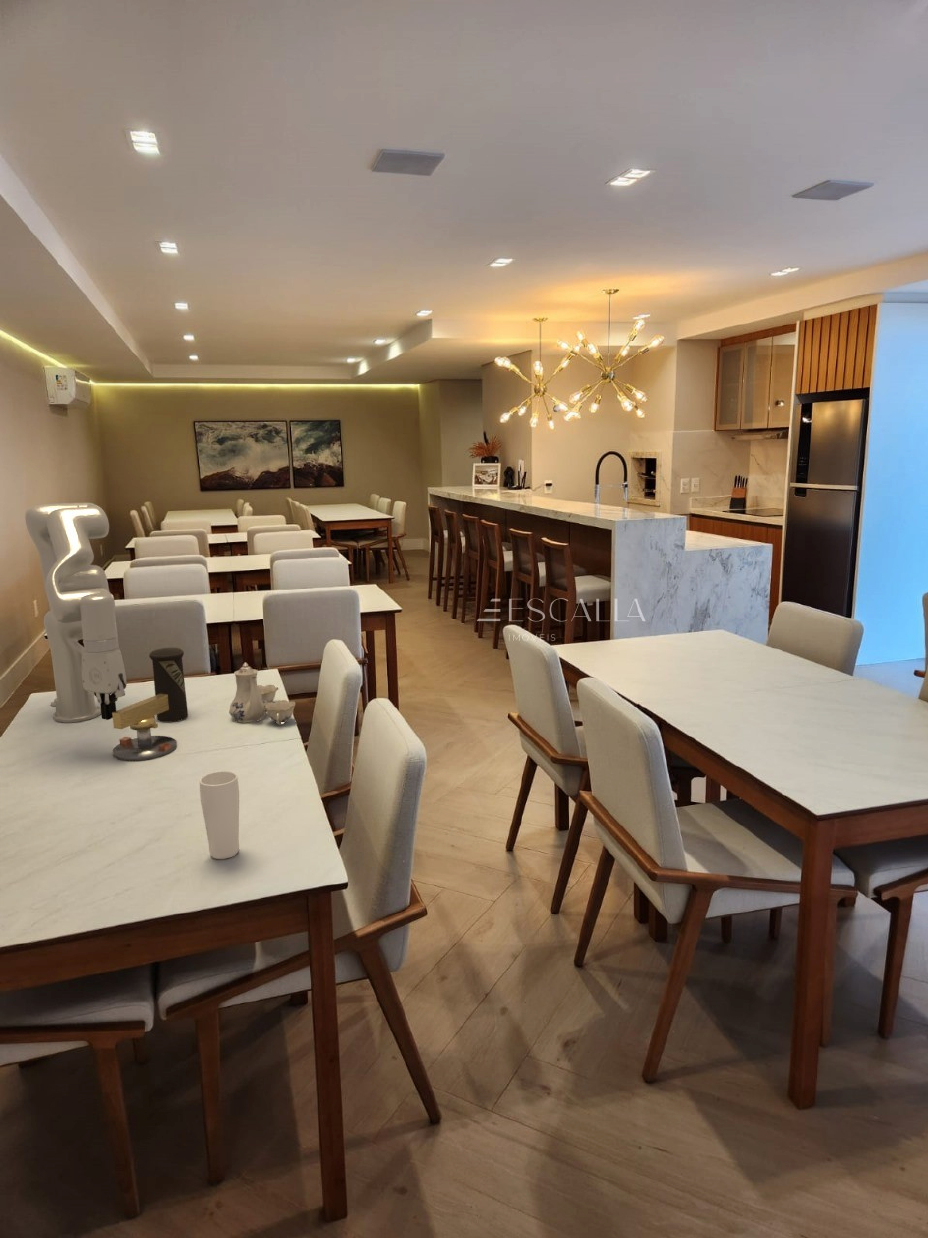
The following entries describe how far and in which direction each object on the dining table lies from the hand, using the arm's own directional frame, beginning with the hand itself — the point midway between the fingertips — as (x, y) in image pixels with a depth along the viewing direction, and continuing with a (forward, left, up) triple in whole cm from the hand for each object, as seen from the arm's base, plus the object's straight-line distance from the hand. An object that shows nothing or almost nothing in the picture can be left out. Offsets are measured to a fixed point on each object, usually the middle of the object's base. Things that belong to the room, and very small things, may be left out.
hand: (109, 717), depth 195 cm
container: (-6, +28, -10) cm, 30 cm away
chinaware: (+16, +38, -10) cm, 42 cm away
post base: (+5, +6, -10) cm, 12 cm away
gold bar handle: (+5, +6, -3) cm, 8 cm away
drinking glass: (+58, -30, -10) cm, 66 cm away
